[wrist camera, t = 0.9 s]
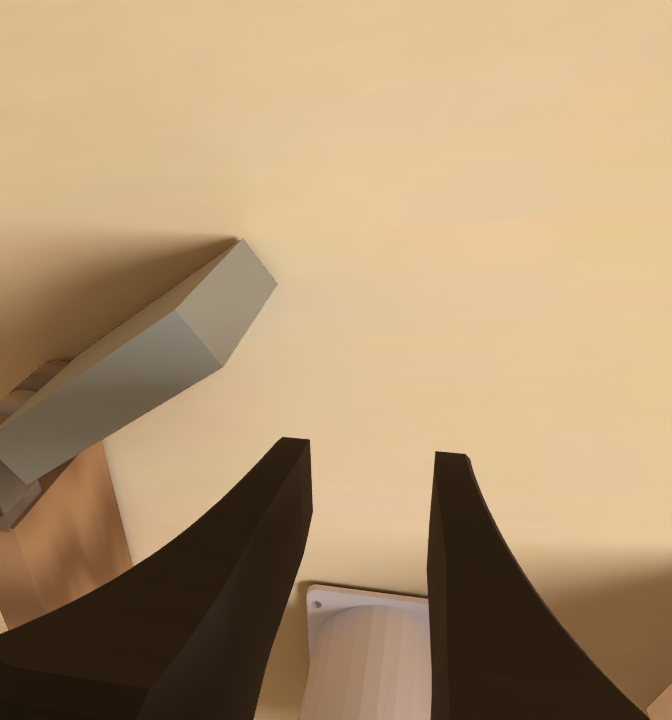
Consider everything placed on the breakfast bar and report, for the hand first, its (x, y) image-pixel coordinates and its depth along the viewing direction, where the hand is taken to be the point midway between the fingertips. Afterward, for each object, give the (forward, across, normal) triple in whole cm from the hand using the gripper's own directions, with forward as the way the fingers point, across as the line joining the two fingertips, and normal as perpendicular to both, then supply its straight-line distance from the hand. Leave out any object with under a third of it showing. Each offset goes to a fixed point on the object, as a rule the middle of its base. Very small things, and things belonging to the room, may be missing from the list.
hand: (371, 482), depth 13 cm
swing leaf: (+10, +10, +2) cm, 14 cm away
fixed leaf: (+10, +14, +10) cm, 20 cm away
